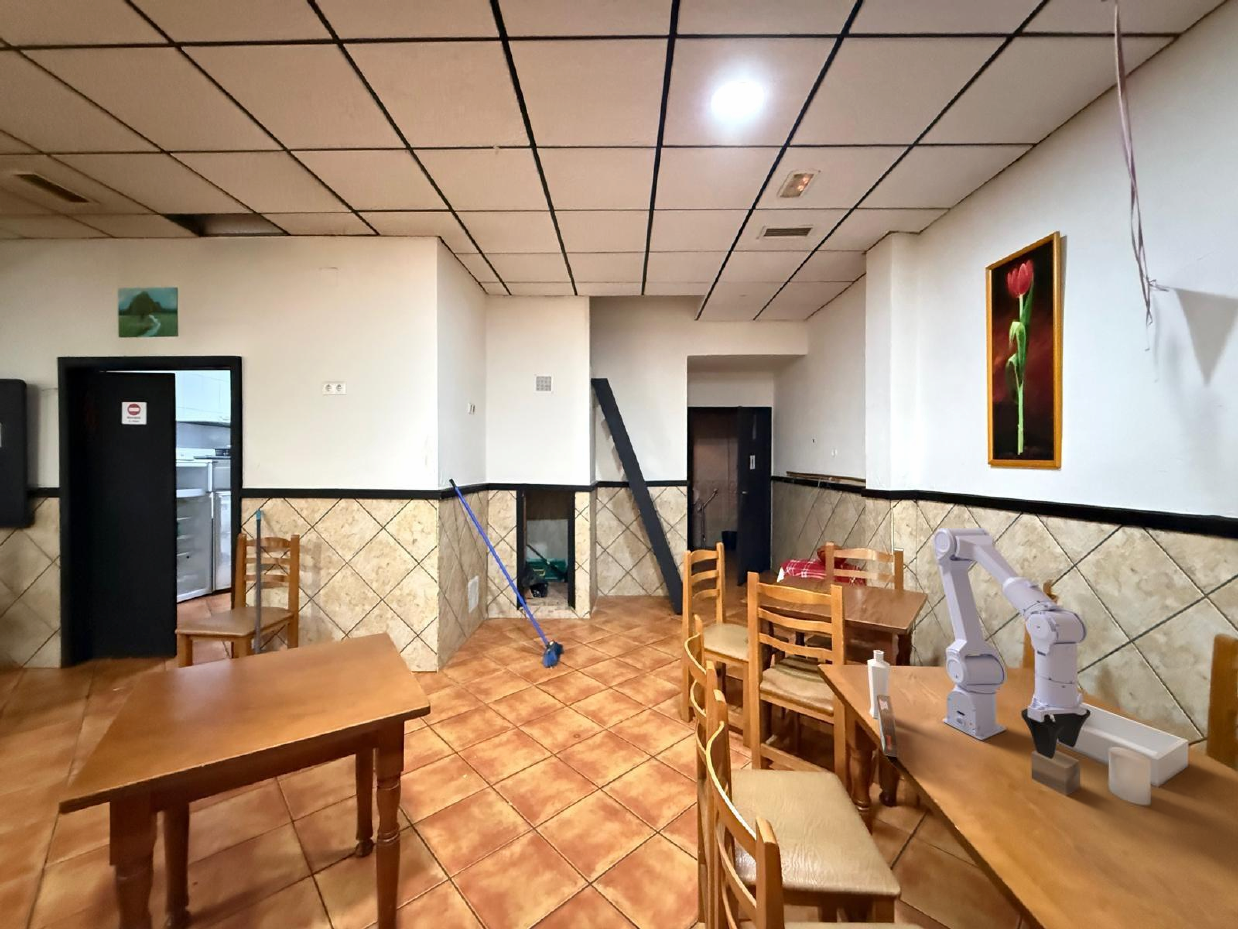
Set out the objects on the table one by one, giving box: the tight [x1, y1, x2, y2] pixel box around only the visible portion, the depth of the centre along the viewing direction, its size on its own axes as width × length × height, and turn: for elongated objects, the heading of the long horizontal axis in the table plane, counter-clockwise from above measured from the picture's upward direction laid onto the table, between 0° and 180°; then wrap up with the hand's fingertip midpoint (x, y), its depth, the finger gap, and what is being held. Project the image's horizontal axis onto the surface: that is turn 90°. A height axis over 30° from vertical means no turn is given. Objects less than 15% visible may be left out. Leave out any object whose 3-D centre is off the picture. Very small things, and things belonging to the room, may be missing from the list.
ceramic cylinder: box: [1108, 747, 1152, 806], centre depth 82 cm, size 5×5×7 cm
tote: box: [1050, 701, 1189, 788], centre depth 95 cm, size 14×18×5 cm
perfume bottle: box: [867, 649, 891, 720], centre depth 108 cm, size 5×4×15 cm
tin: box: [877, 695, 900, 759], centre depth 97 cm, size 15×3×8 cm, turn 155°
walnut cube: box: [1031, 749, 1081, 797], centre depth 85 cm, size 5×5×5 cm
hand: (1055, 749), depth 85 cm, fingers open, 7 cm apart
